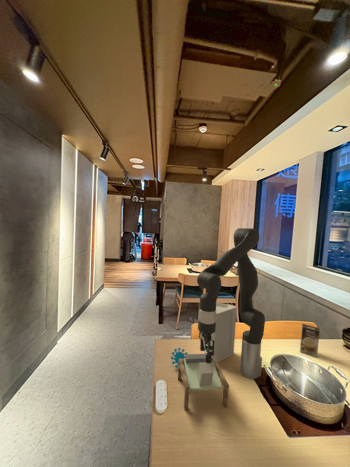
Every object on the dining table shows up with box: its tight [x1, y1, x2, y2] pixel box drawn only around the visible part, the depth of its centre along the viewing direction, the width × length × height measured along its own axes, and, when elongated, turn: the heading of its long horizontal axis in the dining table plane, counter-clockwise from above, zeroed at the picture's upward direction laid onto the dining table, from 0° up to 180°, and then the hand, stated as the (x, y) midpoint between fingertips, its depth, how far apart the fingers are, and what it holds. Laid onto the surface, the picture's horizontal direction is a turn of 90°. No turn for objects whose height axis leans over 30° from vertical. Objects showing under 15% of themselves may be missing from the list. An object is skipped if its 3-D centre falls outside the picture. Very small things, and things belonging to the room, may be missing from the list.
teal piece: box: [170, 347, 188, 369], centre depth 113 cm, size 11×6×10 cm
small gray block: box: [197, 362, 213, 386], centre depth 89 cm, size 5×5×7 cm
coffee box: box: [299, 323, 320, 358], centre depth 130 cm, size 9×6×16 cm
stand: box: [177, 358, 230, 411], centre depth 94 cm, size 18×18×10 cm
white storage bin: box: [203, 302, 238, 363], centre depth 124 cm, size 19×15×28 cm
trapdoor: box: [184, 353, 223, 391], centre depth 93 cm, size 14×14×4 cm
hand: (205, 356), depth 90 cm, fingers open, 8 cm apart
